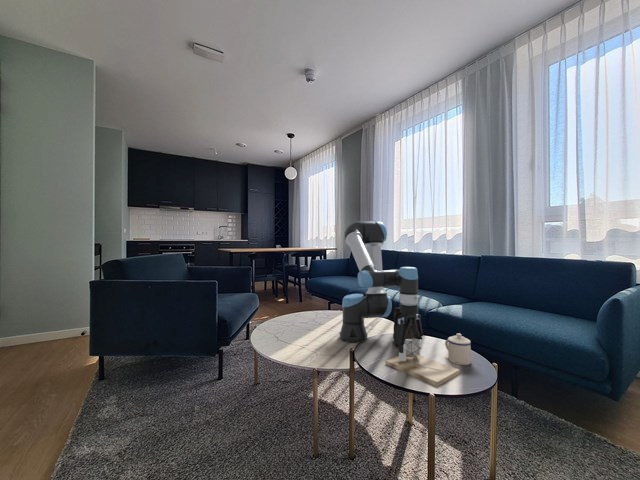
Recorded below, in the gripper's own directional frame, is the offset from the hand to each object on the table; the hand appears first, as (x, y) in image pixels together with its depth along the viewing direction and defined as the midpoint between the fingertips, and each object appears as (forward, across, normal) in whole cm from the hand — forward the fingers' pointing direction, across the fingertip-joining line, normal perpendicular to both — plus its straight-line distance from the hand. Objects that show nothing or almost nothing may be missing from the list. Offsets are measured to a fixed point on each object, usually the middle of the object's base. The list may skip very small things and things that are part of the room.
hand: (409, 357), depth 113 cm
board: (+3, 0, -5) cm, 6 cm away
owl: (+3, +18, +16) cm, 24 cm away
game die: (0, 0, 0) cm, 0 cm away
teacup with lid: (+3, +20, -10) cm, 22 cm away
